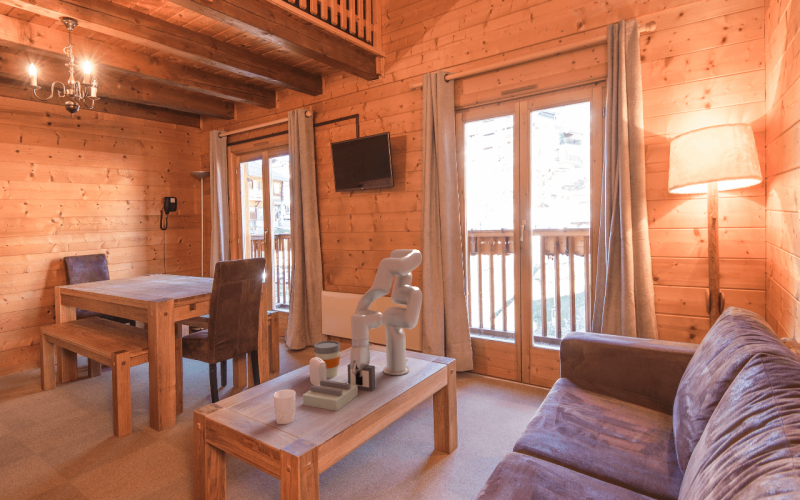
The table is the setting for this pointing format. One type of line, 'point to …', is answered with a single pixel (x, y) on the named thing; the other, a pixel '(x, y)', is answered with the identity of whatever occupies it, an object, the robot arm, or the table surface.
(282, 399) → the white cup
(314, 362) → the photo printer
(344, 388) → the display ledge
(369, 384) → the thin grey panel
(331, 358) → the reusable coffee cup
